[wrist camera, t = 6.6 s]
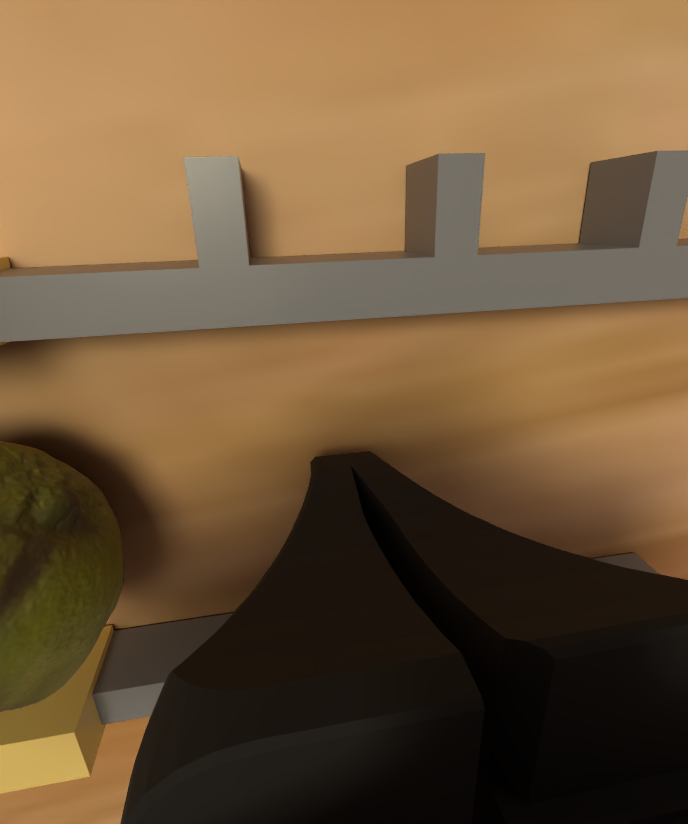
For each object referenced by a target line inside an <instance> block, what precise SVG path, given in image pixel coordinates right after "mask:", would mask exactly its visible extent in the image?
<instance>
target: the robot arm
mask: <svg viewBox="0 0 688 824" xmlns="http://www.w3.org/2000/svg"><path fill="white" fill-rule="evenodd" d="M310 463H311V478H310V483H309V487H308V490H307V493H306V497H305V500H304V503H303V506H302V508H301V511H300V513H299V515H298V517H297V520H296V522H295V524H294V527H293V529H292V531H291V533H290V535H289V537H288V539H287V540H286V542H285V544H284V546H283V548H282V549H281V551H280V553H279V554H278V556H277V558H276V559H275V561H274V562H273V564H272V565H271V566H270V568H269V569H268V571H267V572H266V574H265V575H264V577H263V578H262V579H261V581H260V582H259V583H258V585H257V586H256V587H255V589H254V590H253V591H252V592H251V594H250V595H249V596H248V597H247V598H246V599H245V600H244V602H243V603H242V604H241V605H240V606H239V607H238V608H237V609H236V611H235V612H234V613H233V614H232V615H231V616H230V617H229V619H228V620H227V621H226V622H225V623H224V624H223V625H222V626H221V627H220V628H219V629H218V630H217V631H216V632H215V633H214V634H213V635H212V636H211V637H210V638H209V639H208V640H207V641H206V642H204V643H203V644H202V645H201V646H200V647H199V648H198V649H197V650H195V651H194V652H193V653H192V654H191V655H190V656H189V657H188V658H186V659H185V660H184V661H183V662H182V663H181V664H180V665H178V666H177V667H176V668H175V669H173V670H172V671H171V672H170V673H169V675H168V677H167V679H166V681H165V683H164V685H163V688H162V690H161V692H160V695H159V697H158V700H157V702H156V704H155V707H154V709H153V712H152V714H151V717H150V720H149V722H148V725H147V728H146V731H145V733H144V736H143V739H142V742H141V745H140V748H139V751H138V754H137V757H136V760H135V763H134V767H133V771H132V775H131V778H130V783H129V787H128V792H127V796H126V801H125V806H124V810H123V815H122V819H121V824H688V580H685V579H680V578H675V577H670V576H665V575H660V574H655V573H650V572H645V571H640V570H635V569H630V568H625V567H621V566H617V565H613V564H609V563H605V562H601V561H598V560H594V559H590V558H586V557H583V556H579V555H575V554H572V553H569V552H566V551H562V550H559V549H556V548H553V547H550V546H547V545H544V544H541V543H538V542H535V541H533V540H530V539H527V538H524V537H521V536H519V535H516V534H513V533H511V532H508V531H506V530H503V529H501V528H499V527H496V526H494V525H492V524H490V523H488V522H485V521H483V520H481V519H479V518H477V517H475V516H472V515H470V514H468V513H466V512H464V511H462V510H460V509H458V508H457V507H455V506H453V505H451V504H450V503H448V502H446V501H444V500H442V499H441V498H439V497H437V496H435V495H434V494H432V493H431V492H429V491H427V490H426V489H424V488H422V487H421V486H419V485H418V484H416V483H415V482H413V481H412V480H410V479H409V478H407V477H406V476H404V475H403V474H401V473H400V472H399V471H397V470H396V469H394V468H393V467H392V466H390V465H389V464H387V463H386V462H385V461H383V460H382V459H380V458H379V457H377V456H376V455H375V454H373V453H371V452H370V451H367V452H358V453H349V454H340V455H330V456H321V457H315V458H314V459H313V460H312V461H311V462H310Z"/></svg>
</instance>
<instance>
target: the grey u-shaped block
mask: <svg viewBox="0 0 688 824" xmlns="http://www.w3.org/2000/svg"><path fill="white" fill-rule="evenodd" d="M484 161H485V153H463V154H437V155H434V156H431V157H428V158H426V159H423V160H420V161H417V162H415V163H412V164H409V165H407V166H406V223H405V251H395V252H372V253H349V254H326V255H303V256H280V257H258V258H250V250H249V240H248V230H247V220H246V210H245V200H244V190H243V180H242V170H241V165H240V162H239V158H238V156H233V157H184V162H185V169H186V176H187V183H188V191H189V198H190V205H191V212H192V219H193V226H194V234H195V241H196V248H197V255H198V260H189V261H166V262H143V263H120V264H98V265H75V266H52V267H29V268H11V267H10V263H9V260H8V257H0V346H2V345H4V344H6V343H8V342H12V341H27V340H43V339H58V338H74V337H89V336H105V335H120V334H136V333H151V332H167V331H182V330H198V329H213V328H229V327H245V326H260V325H276V324H291V323H307V322H322V321H338V320H353V319H369V318H384V317H400V316H415V315H431V314H446V313H462V312H477V311H493V310H508V309H524V308H539V307H555V306H570V305H586V304H602V303H617V302H633V301H648V300H664V299H679V298H688V239H678V237H679V233H680V228H681V224H682V219H683V215H684V210H685V206H686V201H687V197H688V151H654V152H649V153H643V154H637V155H631V156H625V157H620V158H614V159H608V160H602V161H596V162H591V167H590V174H589V181H588V187H587V194H586V201H585V207H584V214H583V221H582V228H581V234H580V241H579V243H577V244H555V245H532V246H509V247H486V248H478V243H479V229H480V216H481V202H482V188H483V174H484ZM594 560H598V561H601V562H605V563H609V564H613V565H617V566H621V567H625V568H630V569H635V570H640V571H645V572H650V573H655V574H659V573H657V572H656V571H655V570H654V569H653V568H652V567H651V566H650V565H648V564H647V563H646V562H645V561H644V560H643V559H642V558H640V557H639V556H638V555H637V554H636V553H628V554H621V555H615V556H608V557H602V558H595V559H594ZM232 614H233V613H229V614H222V615H216V616H209V617H202V618H196V619H189V620H183V621H176V622H169V623H163V624H156V625H149V626H143V627H136V628H129V629H123V630H116V631H114V629H113V626H112V625H109V626H105V627H104V628H103V630H102V632H101V633H100V636H99V638H98V640H97V642H96V643H95V645H94V647H93V649H92V651H91V652H90V654H89V655H88V657H87V658H86V660H85V661H84V663H83V664H82V665H81V666H80V667H79V669H78V670H77V671H76V672H75V674H74V675H73V676H72V677H71V678H70V679H69V680H68V681H67V682H66V684H65V685H64V686H63V687H61V688H60V689H59V690H57V691H56V692H55V693H53V694H51V695H50V696H49V697H47V698H45V699H44V700H41V701H40V702H38V703H35V704H31V705H28V706H25V707H22V708H18V709H14V710H6V711H2V712H0V793H6V792H11V791H16V790H21V789H26V788H32V787H37V786H42V785H47V784H53V783H58V782H63V781H68V780H74V779H79V778H84V777H89V776H90V775H91V772H92V769H93V765H94V762H95V758H96V755H97V752H98V748H99V745H100V742H101V738H102V735H103V732H104V728H105V725H106V724H108V723H114V722H120V721H125V720H131V719H137V718H142V717H148V716H151V714H152V712H153V709H154V707H155V704H156V702H157V700H158V697H159V695H160V692H161V690H162V688H163V685H164V683H165V681H166V679H167V677H168V675H169V673H170V672H171V671H172V670H173V669H175V668H176V667H177V666H178V665H180V664H181V663H182V662H183V661H184V660H185V659H186V658H188V657H189V656H190V655H191V654H192V653H193V652H194V651H195V650H197V649H198V648H199V647H200V646H201V645H202V644H203V643H204V642H206V641H207V640H208V639H209V638H210V637H211V636H212V635H213V634H214V633H215V632H216V631H217V630H218V629H219V628H220V627H221V626H222V625H223V624H224V623H225V622H226V621H227V620H228V619H229V617H230V616H231V615H232Z"/></svg>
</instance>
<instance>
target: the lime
mask: <svg viewBox="0 0 688 824" xmlns="http://www.w3.org/2000/svg"><path fill="white" fill-rule="evenodd" d="M123 581H124V563H123V550H122V537H121V533H120V528H119V524H118V520H117V518H116V517H115V515H114V513H113V511H112V509H111V507H110V505H109V504H108V502H107V500H106V498H105V496H104V495H103V493H102V491H101V490H100V489H99V488H98V487H97V486H96V485H95V484H93V483H92V482H91V481H90V479H89V478H87V477H86V476H84V475H83V474H81V473H79V472H78V471H77V470H75V469H73V468H72V467H70V466H69V465H68V464H66V463H63V462H61V461H59V460H57V459H55V458H53V457H51V456H50V455H48V454H47V453H46V452H43V451H40V450H39V449H36V448H32V447H29V446H24V445H19V444H16V443H9V442H4V441H0V712H2V711H6V710H14V709H18V708H22V707H25V706H28V705H31V704H35V703H38V702H40V701H41V700H44V699H45V698H47V697H49V696H50V695H51V694H53V693H55V692H56V691H57V690H59V689H60V688H61V687H63V686H64V685H65V684H66V682H67V681H68V680H69V679H70V678H71V677H72V676H73V675H74V674H75V672H76V671H77V670H78V669H79V667H80V666H81V665H82V664H83V663H84V661H85V660H86V658H87V657H88V655H89V654H90V652H91V651H92V649H93V647H94V645H95V643H96V642H97V640H98V638H99V636H100V633H101V632H102V630H103V628H104V627H105V624H106V622H107V620H108V618H109V617H110V615H111V613H112V612H113V610H114V609H115V606H116V604H117V601H118V598H119V596H120V592H121V589H122V584H123Z"/></svg>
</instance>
